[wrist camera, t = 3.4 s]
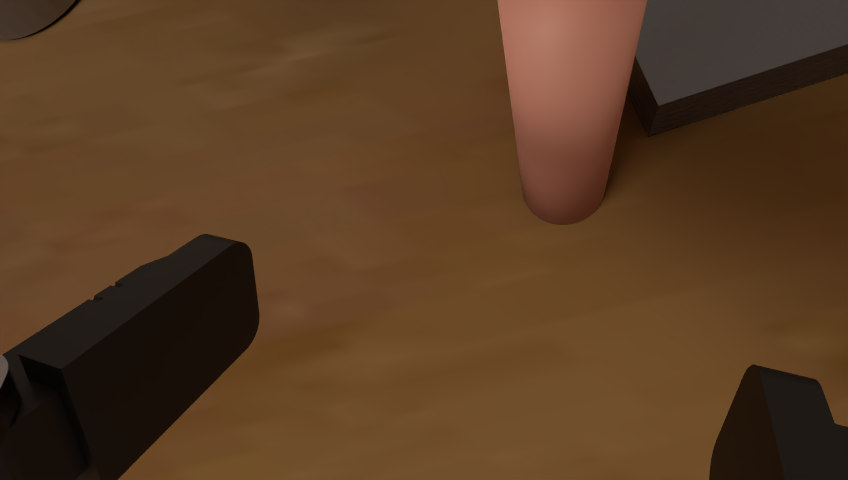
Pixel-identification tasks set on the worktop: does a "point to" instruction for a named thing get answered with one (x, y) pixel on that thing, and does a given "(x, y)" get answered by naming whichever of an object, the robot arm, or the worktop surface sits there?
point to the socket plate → (731, 55)
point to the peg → (568, 96)
